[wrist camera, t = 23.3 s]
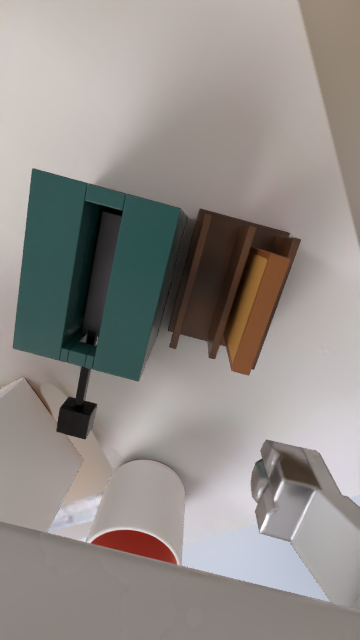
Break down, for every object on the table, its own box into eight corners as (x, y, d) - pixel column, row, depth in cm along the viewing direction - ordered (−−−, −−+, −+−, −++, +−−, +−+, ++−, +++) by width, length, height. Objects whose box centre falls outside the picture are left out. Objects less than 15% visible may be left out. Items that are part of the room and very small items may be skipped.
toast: (248, 245, 30) (271, 253, 21) (263, 249, 30) (291, 258, 21) (222, 330, 33) (230, 371, 23) (235, 333, 33) (249, 376, 23)
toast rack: (199, 209, 31) (199, 203, 24) (287, 232, 31) (311, 233, 24) (168, 328, 34) (161, 351, 28) (247, 349, 34) (258, 377, 28)
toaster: (157, 335, 35) (138, 381, 24) (62, 310, 34) (2, 345, 24) (187, 215, 31) (180, 208, 20) (81, 187, 31) (19, 164, 20)
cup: (95, 493, 41) (64, 572, 32) (133, 440, 39) (111, 510, 29) (159, 528, 42) (147, 616, 33) (200, 479, 40) (200, 559, 30)
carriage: (92, 426, 30) (85, 439, 28) (64, 419, 30) (55, 431, 28) (135, 219, 25) (130, 218, 23) (101, 210, 25) (92, 208, 23)
